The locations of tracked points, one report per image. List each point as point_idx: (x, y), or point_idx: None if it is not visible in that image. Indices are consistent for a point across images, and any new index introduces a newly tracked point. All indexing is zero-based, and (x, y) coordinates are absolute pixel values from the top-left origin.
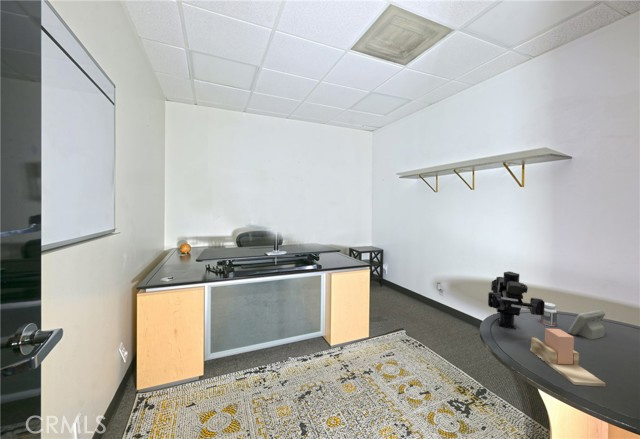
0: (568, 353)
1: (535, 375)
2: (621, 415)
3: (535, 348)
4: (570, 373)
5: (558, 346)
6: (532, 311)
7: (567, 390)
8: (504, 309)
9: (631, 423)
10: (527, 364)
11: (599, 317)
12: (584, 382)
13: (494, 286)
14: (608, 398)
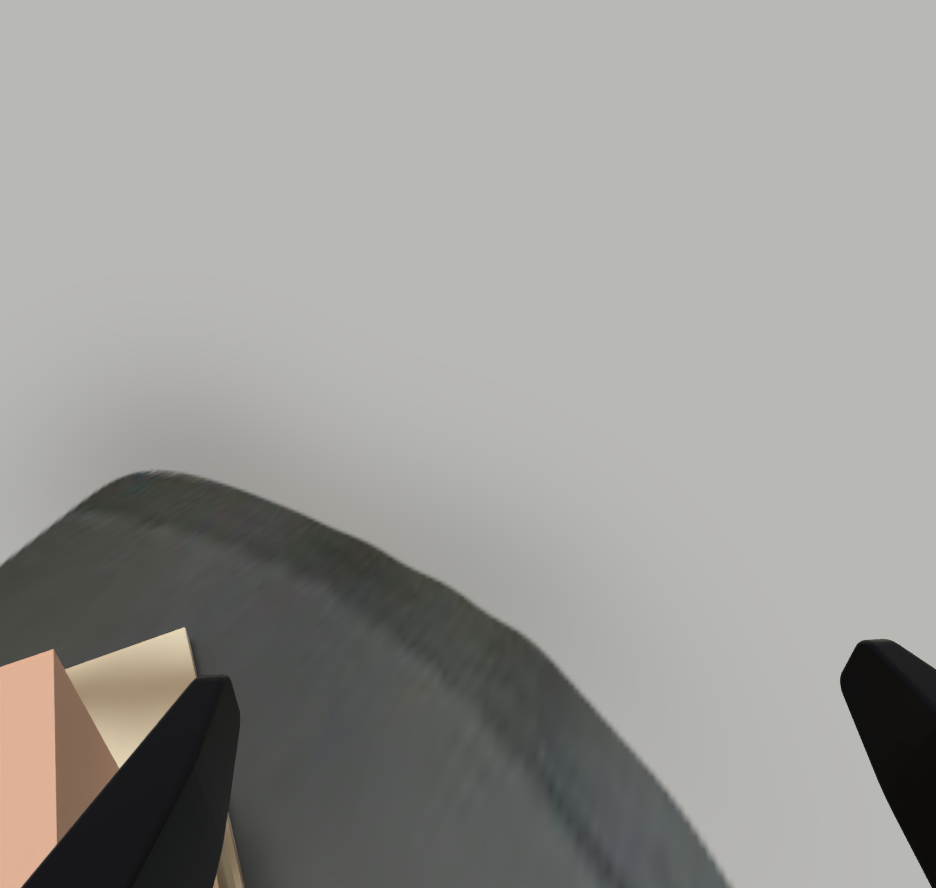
0: None
1: (405, 624)
2: (117, 506)
3: None
4: (138, 725)
5: (99, 733)
6: (210, 764)
7: (270, 567)
8: (851, 670)
9: (117, 480)
10: (429, 750)
11: None
12: (111, 653)
13: None
14: (63, 600)
